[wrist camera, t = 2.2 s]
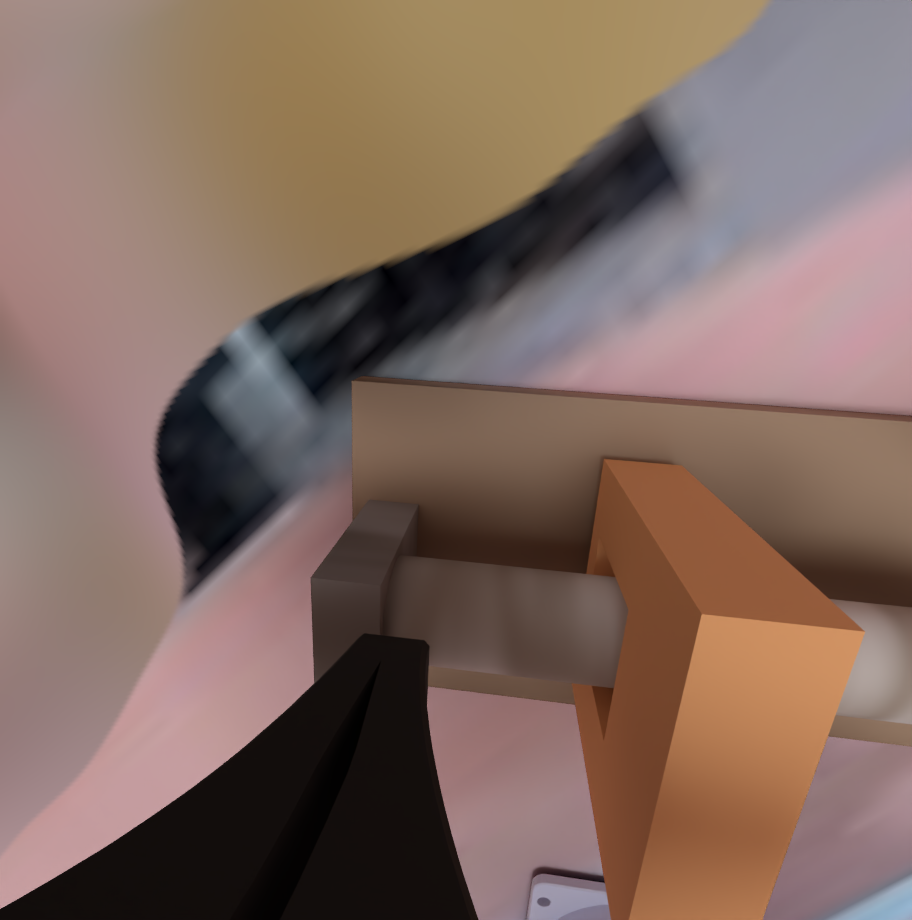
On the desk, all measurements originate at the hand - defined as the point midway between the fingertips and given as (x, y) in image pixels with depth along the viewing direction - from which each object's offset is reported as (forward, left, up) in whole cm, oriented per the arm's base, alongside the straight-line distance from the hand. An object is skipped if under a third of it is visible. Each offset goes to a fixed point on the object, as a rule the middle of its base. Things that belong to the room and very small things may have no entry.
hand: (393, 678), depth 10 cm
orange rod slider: (0, -6, -5) cm, 7 cm away
